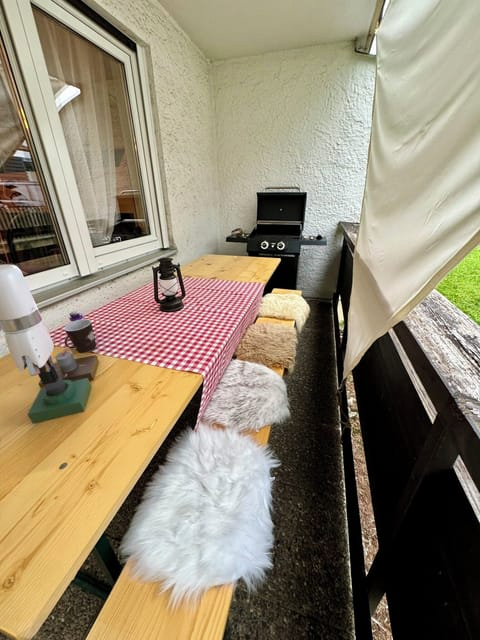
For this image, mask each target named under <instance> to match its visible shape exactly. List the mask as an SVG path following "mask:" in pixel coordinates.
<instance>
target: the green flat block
mask: <svg viewBox="0 0 480 640" xmlns="http://www.w3.org/2000/svg"><path fill="white" fill-rule="evenodd" d="M64 381H65V383H66V385H67V389H66V390H65V391H64V392H62V393H60V394H58V395H55V396H49V395H48V393H47V392H46V390H45V387H43V388H40V390H39V392H38V394H36V395H37V396H35V397H36V398H35V399H34V401H33V403H32V405H31V407H30V409H29V410H28V412H27V417H28V419H29V420H30V421H31V423H32V424H33V425H35V424H39V423H43V422H47V421H52V420H55V419H60V418H63V417H67V416H73V415H76V414H77V415H78V414H80V413H85V411H86V408H87V404H88V401H89V398H90V395H91V390H92V388H93V387H92V384H91V381H89V379H88V378H86V379H81V380H76V381H70V380H64ZM34 423H35V424H34Z"/></svg>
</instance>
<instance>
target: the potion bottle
mask: <svg viewBox="0 0 480 640" xmlns="http://www.w3.org/2000/svg"><path fill="white" fill-rule="evenodd" d="M68 319H69V321H70V322H73V321H76V320H80V319H84V316H83V314H82V312H81V313H80V311H78V310H77V311H76V310H75V311H71V312H70V313H69V316H68ZM78 329H81V328H78ZM78 329H76V330H78Z"/></svg>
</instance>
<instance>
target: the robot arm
mask: <svg viewBox="0 0 480 640" xmlns="http://www.w3.org/2000/svg"><path fill="white" fill-rule="evenodd" d="M0 328H1V330H2V332H3V333H4V338H5V342H6V345H7V348H8V351H9V353H10V355H11V358H12V360H13V362H14V364H15V366H16V368H17V370H18V371H19V372H24V371H25V370H26V369H28V372H29V375H30V377H35V376H38V378H39V379H40V380H41V381H42V383H43V384H50V383H55V382H57V379H58V378H59V377H58V375H57V372H56V370H55V368H54V366H53V363H54V361H53V359H52V353H53V352H54V349H55V344H54V341H53V338H52V337H51V334H50V332H49V331H48V329H47V327H46V325H45V324H44V319H43V316H42V314H41V312H40V310H39V308H38V306H37V303H36V301H35V299H34V297H33V295H32V292H31V289H30V288H29V285H28V283H27V281H26V279H25V277H24V275H23V272H22V270H21V269H20V268H19V267H18V266H17V265H14V264H6V263H5V264H0Z"/></svg>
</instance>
